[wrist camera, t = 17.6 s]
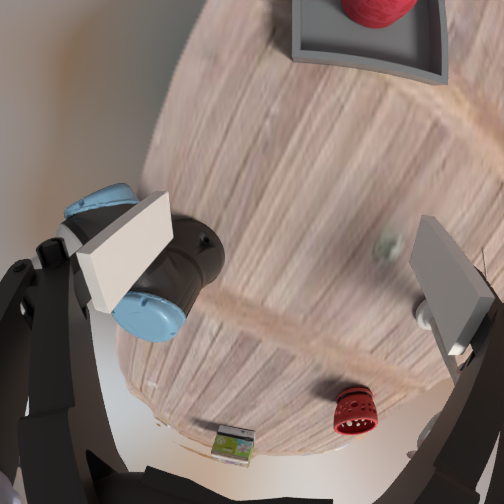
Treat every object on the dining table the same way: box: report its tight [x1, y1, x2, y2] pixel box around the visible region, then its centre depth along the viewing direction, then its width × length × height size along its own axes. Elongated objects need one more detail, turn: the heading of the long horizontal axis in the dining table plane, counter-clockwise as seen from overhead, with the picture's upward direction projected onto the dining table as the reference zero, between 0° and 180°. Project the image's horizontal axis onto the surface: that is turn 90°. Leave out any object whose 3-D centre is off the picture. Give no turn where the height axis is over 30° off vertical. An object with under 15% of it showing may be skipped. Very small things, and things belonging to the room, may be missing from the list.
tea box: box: [211, 425, 255, 467], centre depth 97 cm, size 15×10×15 cm, turn 90°
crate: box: [292, 0, 448, 85], centre depth 28 cm, size 24×24×6 cm
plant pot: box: [334, 388, 378, 435], centre depth 72 cm, size 13×13×12 cm
